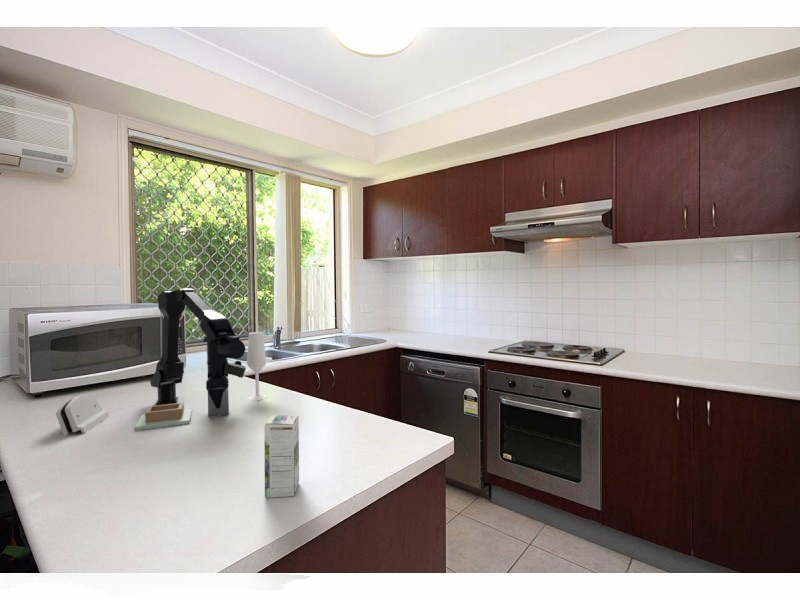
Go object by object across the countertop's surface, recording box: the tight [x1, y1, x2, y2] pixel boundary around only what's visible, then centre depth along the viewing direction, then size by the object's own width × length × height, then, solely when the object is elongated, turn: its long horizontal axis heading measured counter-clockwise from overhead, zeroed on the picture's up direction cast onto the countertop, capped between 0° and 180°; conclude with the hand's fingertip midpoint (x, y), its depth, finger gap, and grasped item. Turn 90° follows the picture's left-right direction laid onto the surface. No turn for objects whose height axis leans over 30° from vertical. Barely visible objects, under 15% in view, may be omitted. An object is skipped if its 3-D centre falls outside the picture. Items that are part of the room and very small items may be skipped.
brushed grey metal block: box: [207, 388, 230, 418], centre depth 133 cm, size 4×6×8 cm, turn 113°
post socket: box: [134, 402, 193, 431], centre depth 127 cm, size 13×14×4 cm
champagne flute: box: [246, 331, 267, 401], centre depth 152 cm, size 7×7×24 cm
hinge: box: [55, 394, 110, 436], centre depth 124 cm, size 17×5×10 cm, turn 14°
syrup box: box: [264, 414, 300, 499], centre depth 83 cm, size 6×6×14 cm
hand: (218, 404), depth 133 cm, fingers open, 9 cm apart
